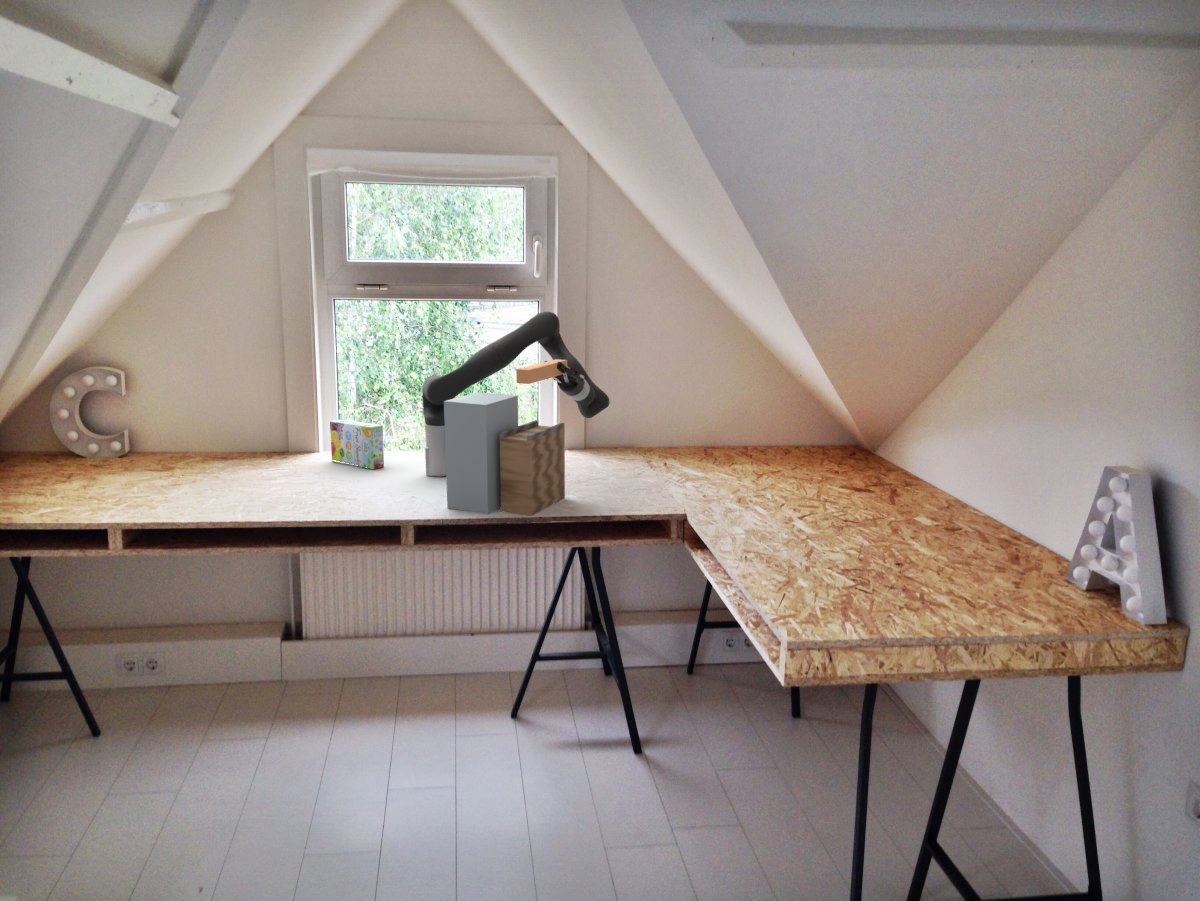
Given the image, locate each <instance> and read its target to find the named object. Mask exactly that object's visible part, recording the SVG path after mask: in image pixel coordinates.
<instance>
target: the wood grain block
mask: <svg viewBox="0 0 1200 901" xmlns="http://www.w3.org/2000/svg"><path fill="white" fill-rule="evenodd" d="M565 427H566V426H565V422H559V423H558V424H554V425H551V426H549V425H548V426H547V425H540V424H539V420H538V419H537V420H536V419H534V420H532V421H529V422H526V423H524V424H520V425H518V426H517V427H514V428H512V429H509V430H506V431H503V432H500V475H501V508H500V510H501V511H500V512H503V513H510V514H516V515H524V516H527V517H528V516H529V517H530V516H531V517H532V516H534V515H535V514H538V513H540V512H541V511H543V510H545V509H548V508H549V507H551V506H553V505H555V504H557V503H558V502H560V501H562V500H564V499H565V498H566V489H565V488H566V479H565V478H566V476H565V474H566V473H565V470H566V461H565V458H566V457H565V454H566V452H565V451H566V450H565V449H566V446H565V445H566V442H565V435H566V434H565V430H566V429H565Z"/></svg>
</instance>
